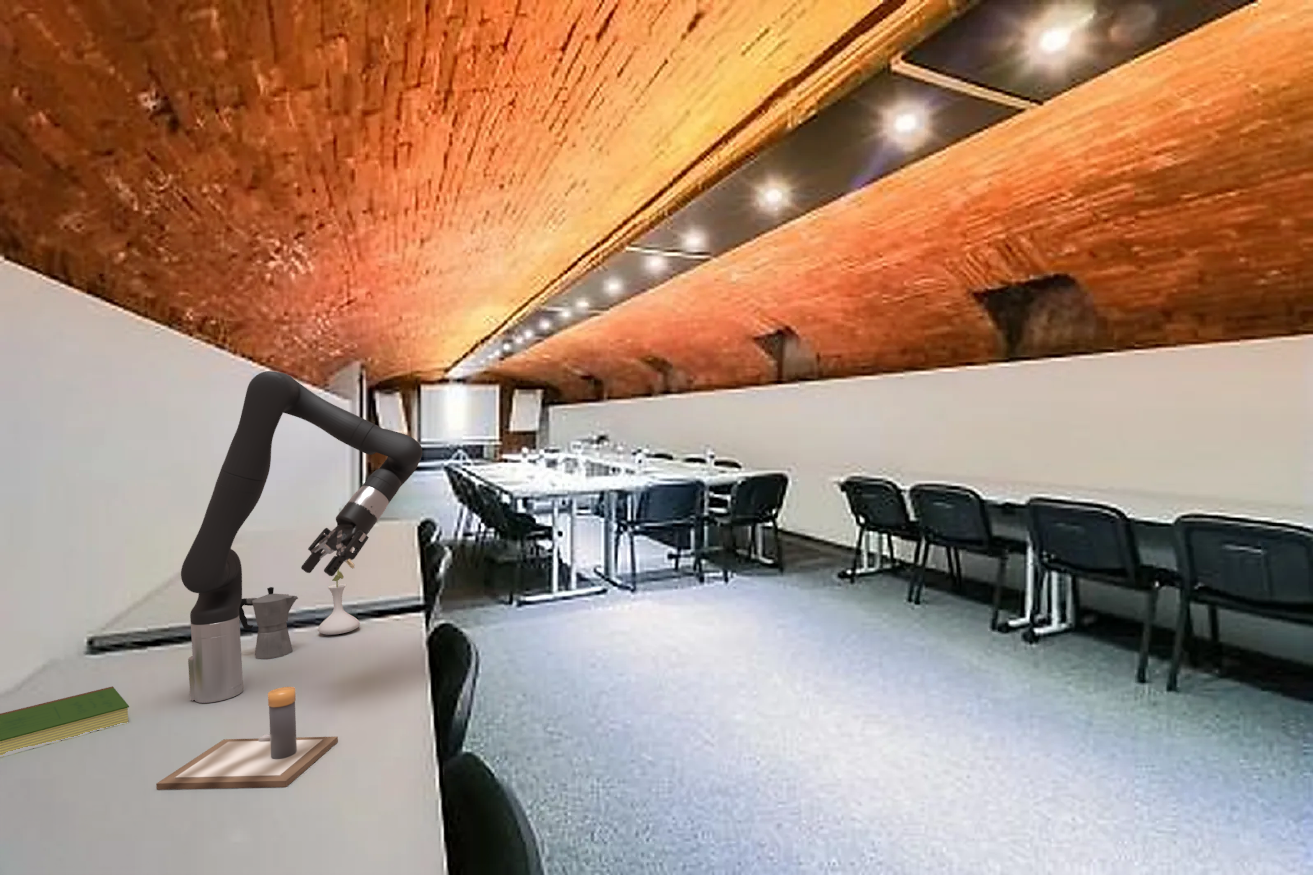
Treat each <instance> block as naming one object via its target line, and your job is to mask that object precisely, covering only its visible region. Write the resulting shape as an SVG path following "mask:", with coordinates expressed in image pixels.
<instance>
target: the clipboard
mask: <svg viewBox="0 0 1313 875" xmlns="http://www.w3.org/2000/svg"><path fill="white" fill-rule="evenodd" d="M338 742H339V736H312V737H311V736H309V737H307V736H306V737H304V736H303V737H301V736H300V737H298V736H297V737H296V743H297V752H296V753H295V754H294V755H292V756H289V757H287V758H282V759H273V758H271V746H270V733H269V734H265V733H264V734H263V735H261V736H260V737H259V738H225V739H222V740H221V741H219V742H218V743H216V744H215V745H213V746H211V747H210V748H208V749H207V750H205V751H204V752H202V753H201V754H199V755H197V756H196V757H194V758H193V759H191V760H190V761H189V762H187V763H184V765H182V766H181V767H179V768H177V769H175V771H173V772H172V773H170V774H168V775H167V776H166V777H164V778H163V779H161V780H159V781H158V782H156V785H155V787H156V790H159V791H161V790H198V789H200V790H202V789H207V790H208V789H210V790H211V789H251V788H252V789H253V788H287V787H288V786H289V785H290V784H291V783H293V782H294V781H295V780H296V779H297V778H298V777H300V776H301V775H302V774H303V773H305V771H306V770H308V769H309V768H310V767H311V766H312V765H314V763H316V762H317V761H318V760H319V759H320V758H322V757H323V756H324V755H325V754H326V753H327V752H328V751H329V750H330V749H332V748H333V747H334V746H335V745H336V744H337V743H338ZM332 746H333V747H332ZM331 747H332V748H331Z"/></svg>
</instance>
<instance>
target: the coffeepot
mask: <svg viewBox="0 0 1313 875" xmlns="http://www.w3.org/2000/svg"><path fill="white" fill-rule="evenodd" d="M274 589H275V588H274V587H273V586H269V587H267V594H265V595H262V596H260V597H248V598H247V597H246V598H242V601H241V604H240V607H239V621H240V623H241V626H242V627H243V629H244V630H252V629H253V627H254V624H251V625H250V624H248V618H247V617H246V615H245V611H244V608H243V607H244V606H247V607H248V606H251V607H252V606H253V607H252V608H253V612H254V616H255V621H256V625H257V626H258V627H257V628H258V631H257V636H256V644H255V650H254V651H255V652H254V656H255V659H257V660H271V659H272V660H273V659H277V658H281V657H285V656H287V655H289V654H292V653H293V647H292V642H291V637H290V634H289V629H288V627H287V626H288V624H287V622H288V621H289V613H290V611H291V609H292V607H293V605H294V603H295V602H296V600H299V597H298V596H297V595H289V594H288V593H287V594H286V593H274ZM284 655H285V656H284Z"/></svg>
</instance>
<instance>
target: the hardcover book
mask: <svg viewBox="0 0 1313 875" xmlns="http://www.w3.org/2000/svg"><path fill="white" fill-rule="evenodd" d="M129 708H130V706H129V704H128V703H127V702H126V701H125V699H124V698H123V697H122V696H121V694H120V693H119V692H118V690H116V688H115V687H114V686H108V687H104V688H101V689H96V690H93V691H88V692H85V693H79V694H76V695H72V696H67V697H64V698H59V699H55V700H50V701H47V702H42V703H39V704H34V705H30V706H26V707H22V708H18V709H14V710H13V709H12V710H10V711H9V710H8V711H5V712H1V713H0V755H3V754H5V753H6V752H8V751H13V750H16V749H20V748H23V747H28V746H35V745H38V744H42V743H46V742H52V741H56V740H61V739H65V738H68V737H74V736H78V735H80V734H83V733H85V732H90V731H93V730H97V729H100V728H106V727H110V726H114V725H117V724H120V723H126V724H128V723H129V711H128V709H129ZM127 722H128V723H127ZM78 737H79V736H78Z"/></svg>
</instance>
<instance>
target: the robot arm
mask: <svg viewBox="0 0 1313 875" xmlns="http://www.w3.org/2000/svg"><path fill="white" fill-rule="evenodd" d="M283 414H287V415H289V416H292V417H295V418H296V417H297V418H299V419H302V420H303V421H305V422H308V423H310V424H312V425H314V426H315V427H318V429H321V430H323V431H324V432H325V433H327V434H328V435H330V436H331V437H333V438H335V439H336V440H338V441H340V442H341V443H343V444H344V445H347V446H349V447H351V448H353V449H356V450H357V451H360V452H361V453H364V454H367V455H372V456H373V455H374V454H376V453H377V454H380V455H383V456H386V457H387V458H386V459H385V460H384V462H383V463H382V464H381V465H380V466H379V468H377V469H376V470H375V471H373V472H372V473H371V474H370V475H369V476H368V477H367V479H366V480H365V482H364V483H363V484H362V485H361V487H360V488H358V490H356V492H355V493H354V494H352V496H351V498H350V499H348V501H347V502H346V503H345V505H344V506H343V508H341V510H340V512H338V514H337V515H336V517H335V521H336V526H335V527H334V528H333V529H332V530H331V529H329V528H328V527H325V528H324V529H323V530H322V531H321V533H320V534H318V536H317V537H316V538H315V539H314V540H313V542H312V543H311V544H310V546H308V549H307V550H308V551H309V552H310V553H311V554H309V556H308V557H307V559H306V560H305V561H304V562H303V564H302V565H301V566H300V567H301V570H303V572H305V573H307V574H310V573H312V572H313V570H314V569H315V567H316V566H317V565H318V564H319V563H320V561H321V560H322V558H324V557H325V556H326V555H331V554H332V553H334V552H336V553H335V555H334V556H333V557H332V558H331V560H330V561H329V562H328V564H327V565H326V566H325V567H324V569H323V572H324V573H325V574H326V575H328V576H329V577H335V574H337V571H338V569H339V570H340V568H341V567H342V565H343V563H346V561H347V560H348V559H351V561H353V560H354V559H356V557H357V556H358V554H359V552H360V551H361V550H362V549H363V547H364V546H365V544H366V543H367V542H368V540H369V536H368V534H369V533H370V531H371V530H372V529H373V527H374V526H375V525H376V523H377V522H378V521H379V519H380V518H381V517H382V515H383V514H384V513H385V511H386V509H387V507H388V505H389V504H390V502H391V501H392V500H393V498H394V497H395V496H396V495H397V493H398V492H399V490H400V489H401V487H402V486H403V485H404V484H405V483H406V482H407V481H408V480H409V478H410V477H411V476H412V475H413V474H414V472H415V471H416V469H417V468H418V465H419V463H420V461H421V458H422V456H423V448H422V446H421V444H420V443H419V441H418V440H416V439H415V438H414V437H412V436H409V435H408V434H406V433H405V434H404V433H402V432H400V431H399V432H398V431H394V430H392V429H387V428H383V427H381V426H379V425H377V424H375V423H374V422H371V421H369V420H367V419H365V418H363V417H360V416H359V415H356V414H354V413H352V412H350V411H348V410H346V409H344V408H341V407H339V406H337V405H335V404H334V403H331V402H329V401H327V400H326V399H323V398H322V397H320V396H319V395H317V394H315V393H314V392H312V391H311V390H310V389H308V388H307V387H306V386H304V385H302V384H301V383H300V382H299V381H297V380H296V379H294V378H293V376H290V375H289V374H288V373H284V372H278V371H273V370H268V371H267V370H266V371H262V372H260V373H258V374H256V375H255V376H253V378H252V379H251V380H250V381H249V384H248V386H247V389H246V391H245V397H244V401H243V406H242V409H241V414H240V418H239V422H238V424H237V429H236V430H235V433H234V436H233V438H232V440H231V442H230V445H229V448H228V450H227V453H226V454H225V457H224V458H225V459H224V461H223V463H222V466H221V468H220V471H219V474H218V476H217V478H216V481H215V485H214V488H213V491H212V495H211V497H210V499H209V502H208V505H207V508H206V511H205V513H204V516H203V517H204V518H203V521H202V523H201V525H200V528H199V530H198V532H197V534H196V536H195V538H194V540H193V543H192V545H191V547H190V548H189V551H188V553H187V555H186V556H185V558H184V560H183V562H182V566H181V569H180V577H181V578H180V579H181V582H182V585H184V587H185V588H186V589H187V590H188V591H189V592H192V593H194V594H198V595H197V596H198V597H197V600H196V603H195V604H194V606H193V607H192V609H191V611H190V613H189V615H190V616H189V617H190V632H191V633H190V635H191V649H192V650H191V651H192V652H191V653H192V655H191V656H190V657H188V659H187V660H188V661H187V664H188V680H189V682H188V683H189V700H192V702H193V700H195V701H194V702H196V703H200V704H202V703H203V704H208V703H215V702H216V703H217V702H220V701H224V700H228V699H232V698H233V697H236V696H239V695H240V694H242V693H243V691H244V680H243V676H244V675H243V660H242V658H243V656H242V641H241V624H240V623H241V621H240V619H239V607H240V604H241V601H242V599H243V569H242V562H241V559H240V557H239V555H238V554H237V552H236V551H235V550H234V549H232V547H233V546H232V545H233V543H234V540H235V538H236V536H237V534H238V532H239V530H240V529H241V527H242V526H243V524H245V522H246V521H247V519H248V518H249V516H250V514H251V513H252V511H253V510H254V509H255V507H256V506H257V504H258V503H259V501H260V499H261V496H262V494H263V492H264V489H265V485H266V483H267V480H268V477H269V474H270V469H271V462H272V446H273V440H274V439H273V438H274V435H275V433H276V432H275V431H276V429H277V427H278V425H279V422H280V420H281V418H282V416H283ZM353 549H354V550H353Z"/></svg>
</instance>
